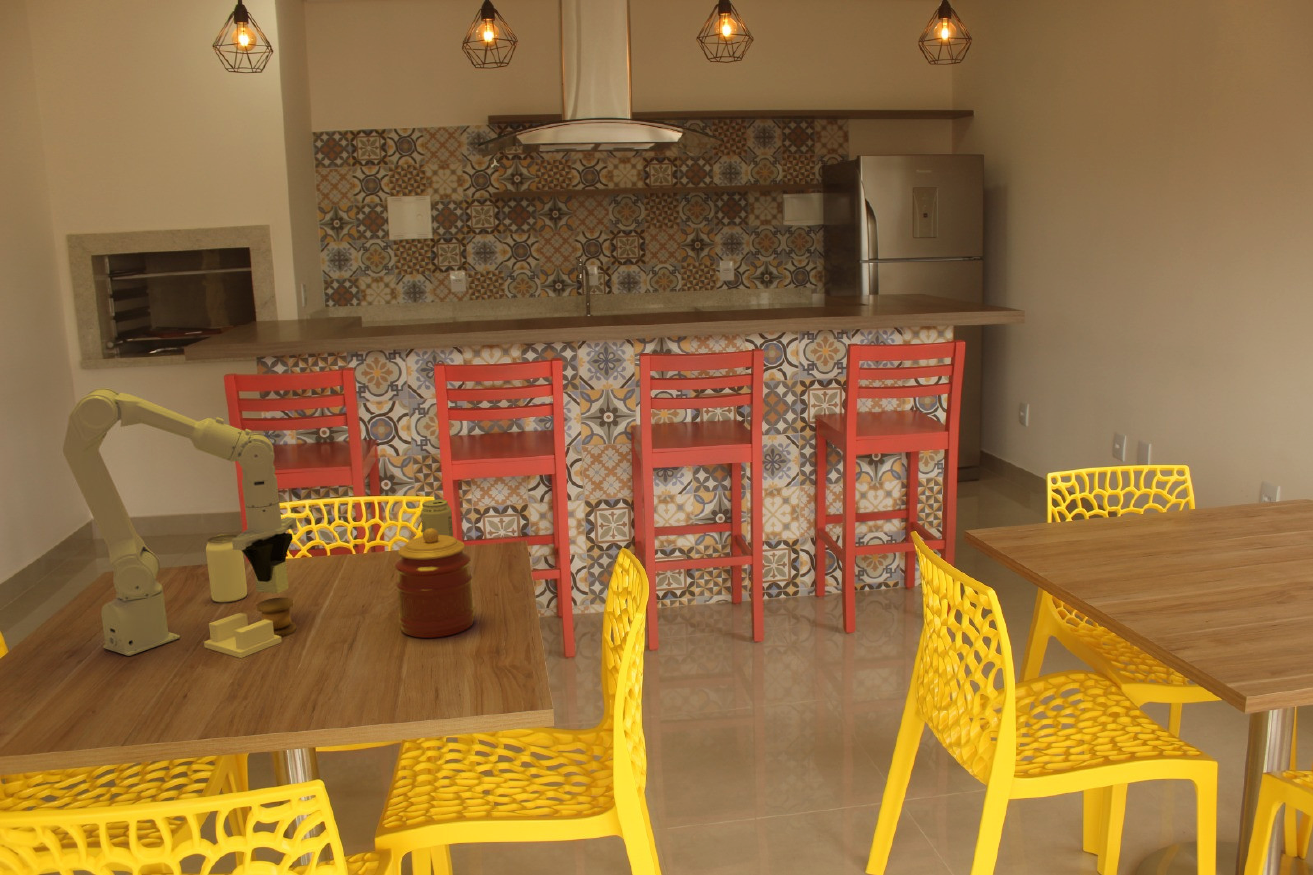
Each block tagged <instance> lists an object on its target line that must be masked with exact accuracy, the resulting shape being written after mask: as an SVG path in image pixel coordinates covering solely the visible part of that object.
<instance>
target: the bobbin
mask: <svg viewBox="0 0 1313 875" xmlns="http://www.w3.org/2000/svg"><path fill="white" fill-rule="evenodd" d="M293 606H294V600H293V599H292V598H289V597H273V598H269V599H264V600H261V601H260V602H258V603H257V604H256V611H258V612H260V613H261V617H262V618H261V621H262V620H264V619H266V620H270V621H273V630H274V635H277V636H281V638H282V637H284V636H288V635H291V634H293V633H294V632H296V630H297V626H296V623H295V622H293V621H292V620H291V611H290V608H292V607H293Z"/></svg>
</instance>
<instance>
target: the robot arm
mask: <svg viewBox="0 0 1313 875" xmlns="http://www.w3.org/2000/svg"><path fill="white" fill-rule="evenodd" d="M119 421H120V427H121V428H122V427H128V426H134V425H139V424H143V425H147V426H150V427H152V428H156V429H159V430H162V431H165V432H168V433H170V434H175V435H177V436H180V437H184V438H187V439H188V440H189V439H190V441H191V443H192V444H193V447H194V449H196V450H198V451H200V452H203V453H206V454H208V455H209V454H210V455H212V456H215V457H218V458H221V459H223V460H226V461H229V462H232V463H233V462H238V464H239V466H240V467H241V472H242V480H241V484H242V486H241V487H242V493H243V494H242V495H243V500H244V501H243V502H244V509H245V519H246V525H247V527H246V528H247V529H246V530H244V531H243V532H241V533H240V534H239V535H238V536H237V537H235V538H233V539H232V545H233V550H241V551H242V552H243V555H244V556H246V559H247V560H248V561H249V563H250V566H251V567H252V570H253V571H254V575H255V574H256V576H257V579H258V581H262V582H268V581H270V560H276V561H286V560H287V555H288V551H289V547H290V545H291V543H292V541H293V540H294V538H293V533H287V532H288V531H289V530H294V529H298V524H297V517H291V516H290V517H289V516H288V517H287V516H286V517H284V518H282V516H281V515H282V514H281V506H280V505H281V504H280V498H279V496H280V495H279V489H278V487H279V486H278V479H277V478H278V477H277V475H276V467H275V465H274V461H275V457H276V456H275V455H276V454H275V453H274V452H275V451H274V450H275V449H274V445H273V444H272V442H271V440H270V439H268V437H266V436H265V435H262V434H261V433H259V432H254V433H252V430H251V429H248V428H245V430H243V429H240V428H237V427H235V426H233V425H229V424H226V423H224V422H225V420H224V419H223V418H222V417H218V416H216V417H215V419H213V418H211V417H207V418H205V419H202V420H195V419H193V418H190V417H188V416H186V415H183V414H182V413H181V414H180V413H178V412H176V411H174V410H170V409H168V408H166V407H163V406H161V405H159V404H156V403H153V402H151V401H148V400H147V399H144V398H141V397H138V396H136V395H132V394H129V393H125V392H120V393H118V392H117V391H116V390H114V389H112V388H106V387H99V388H95V389H93V390H92V391H90V392H88V394H86V395H85V396H83V397H82V398H81V399H80V400H79V401H78V402H77V403H76V404H75V406H74V407H73V409H72V410H71V411H70V413H69V415H68V424H67V428H66V433H65V438H64V441H63V445H62V452H63V455H64V459H66V462H67V465H68V466H69V468H70V470H71V474H72V475H73V477H74V479H75V480H76V483H77V485H78V487H79V489H80V492H81V494H82V495H83V498H84V500H85V502H86V504H87V506H88V509H89V511H90V514H91V515H92V517H93V519H94V521H95V524H96V526H97V528H98V530H99V532H100V534H101V537H102V539H103V540H104V543H105V544H106V547H107V552H108V556H109V562H110V565H111V568H112V571H113V579H112V580H113V586H114V589H115V590H116V593H115V595H116V597H115V598H114V599H112V600H111V601H109V602H106V603H104V605H103V606H102V607H101V613H100V614H101V616H100V617H101V622H102V628H103V636H104V645H102V646H103V649H105V650H109V651H112V652H115V653H118V654H120V655H121V654H122V655H123V656H124V655H125V656H127V657H129V656H134V655H135V654H139V653H141V652H144V651H146V650H147V651H148V650H150V649H153V648H155V647H159V646H161V645H165V644H166V643H170V642H172V641H175V640H178V639H180V638H181V637H180V635H179V634H176V633H172V632H170V631H169V629H168V628H169V626H168V620H167V619H168V618H167V613H166V612H167V610H166V604H165V596H164V589H163V588H164V587H163V585H162V584H161V583H159V582H158V580H157V579H156V578H157V576H158V574H159V573H160V570H161V569H160V568H161V562H160V559H159V557H158V556H157V555H156V554H155V553H154V552H153V551H151V550H150V549H149V548H148V547H147V545H146V544H145V542H144V539H143V538H142V537H141V536H140V535H139V534H138V533H137V531H136V528H135V526H134V524H133V522H132V520H131V518H130V515H129V513H128V510H127V509H126V506H125V504H124V502H123V500H122V498H121V496H120V494H119V491H118V490H117V488H116V485H115V483H114V481H113V479H112V476H111V475H110V472H109V470H108V468H107V466H106V463H105V461H104V459H103V456H102V454H101V453H100V447H101V446H102V443H103V441H104V440H105V438H106V436H107V434H108V432H109V431H110V430H111V429H112V428H113V427H114V426H115V424H117V423H118V422H119Z"/></svg>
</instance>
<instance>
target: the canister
mask: <svg viewBox="0 0 1313 875" xmlns="http://www.w3.org/2000/svg"><path fill="white" fill-rule="evenodd" d="M465 548H466V546H465V543H464V542H462V541H461V540H459V539H456V537H454V536H453V537H452V536H447V535H438V532H437V531H436V530H435V529H433V528H429V529H426V530H425V531H424V533H423V532H422V536H418V537H415V538H412V539H410V540H408V541H407V542H406V544H404V545H403V546H401V547H400V548H399V549H398V552H397V553H398V555H399V556H400V558H399V559H397V560H396V561H395V563H394V569H395V570H396V571H397V572H398V573H397V574H398V578H397V580H396V581H395V582H396V583H395V586H396V588H397V598H398V610H399V614H398V620H399V621H398V622H399V625H400V628H401V631H402V633H404V634H405V635H407V636H410V637H415V638H423V639H425V638H426V639H427V638H428V639H431V638H432V639H433V638H434V639H435V638H442V637H443V638H444V637H448V636H452V635H455V634H456V635H457V634H459V633H461V632H464V631H466V630H468V629H469V628H470V627H472V625H473V624H474V618H475V614H476V613H475V607H474V602H473V601H474V600H473V589H472V588H473V587H472V579H473V575H472V573H471V572H470V571H469V564H470V562H471V559H472V558H471V556H470V554H468V553H467V552H465V551H464V549H465Z"/></svg>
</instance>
